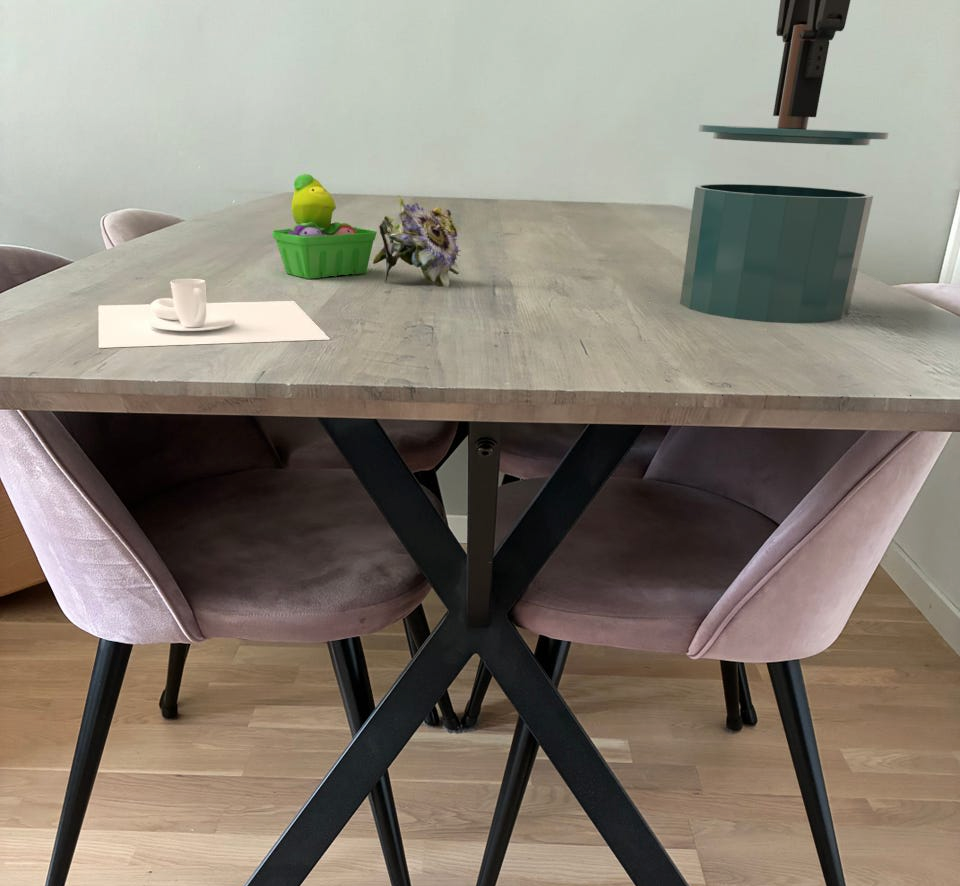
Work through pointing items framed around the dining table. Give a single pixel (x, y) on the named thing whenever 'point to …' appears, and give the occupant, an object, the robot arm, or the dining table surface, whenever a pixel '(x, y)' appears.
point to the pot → (774, 252)
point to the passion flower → (421, 242)
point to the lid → (792, 118)
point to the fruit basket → (321, 236)
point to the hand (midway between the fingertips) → (794, 116)
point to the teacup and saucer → (202, 321)
